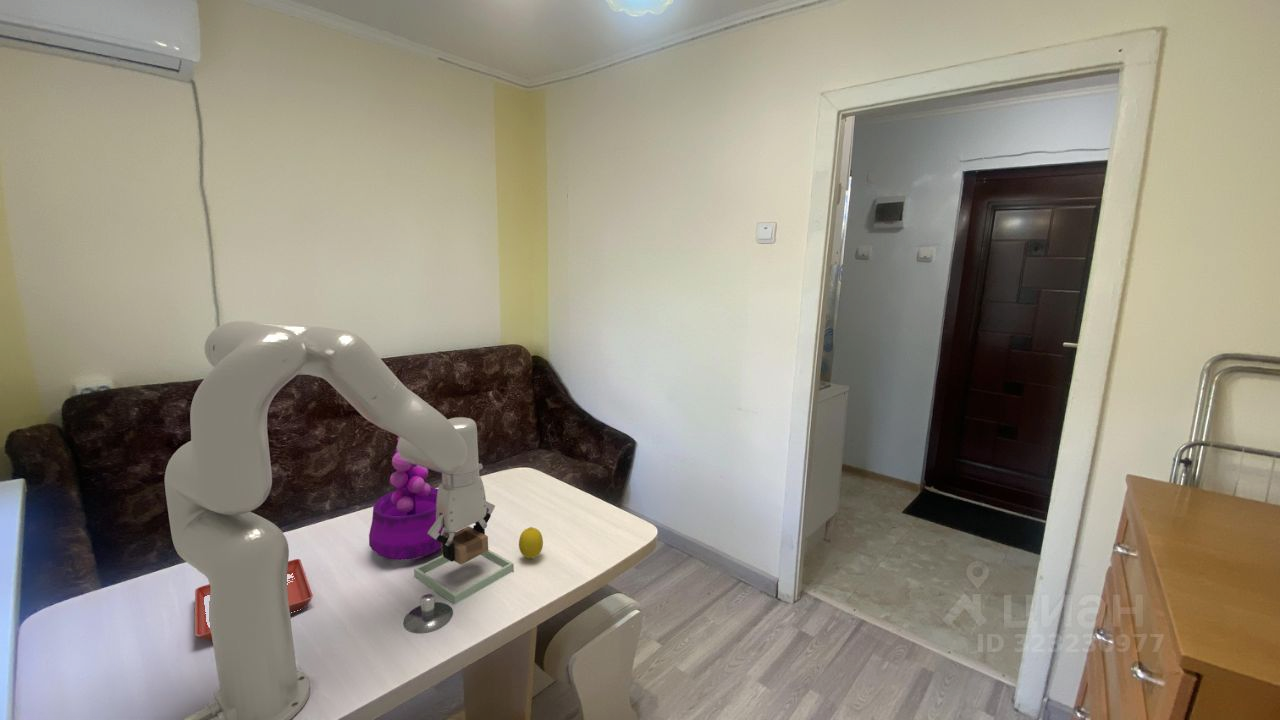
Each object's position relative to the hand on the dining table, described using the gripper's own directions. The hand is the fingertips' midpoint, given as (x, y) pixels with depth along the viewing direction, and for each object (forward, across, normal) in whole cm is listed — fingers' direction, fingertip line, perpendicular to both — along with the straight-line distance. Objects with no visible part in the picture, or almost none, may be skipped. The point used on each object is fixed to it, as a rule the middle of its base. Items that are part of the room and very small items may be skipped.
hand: (464, 550), depth 116 cm
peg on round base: (+6, +13, +7) cm, 16 cm away
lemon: (+6, -14, +6) cm, 16 cm away
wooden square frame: (0, 0, 0) cm, 0 cm away
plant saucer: (+6, +32, -24) cm, 41 cm away
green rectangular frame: (+6, 0, 0) cm, 6 cm away
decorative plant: (+6, +1, -19) cm, 20 cm away
